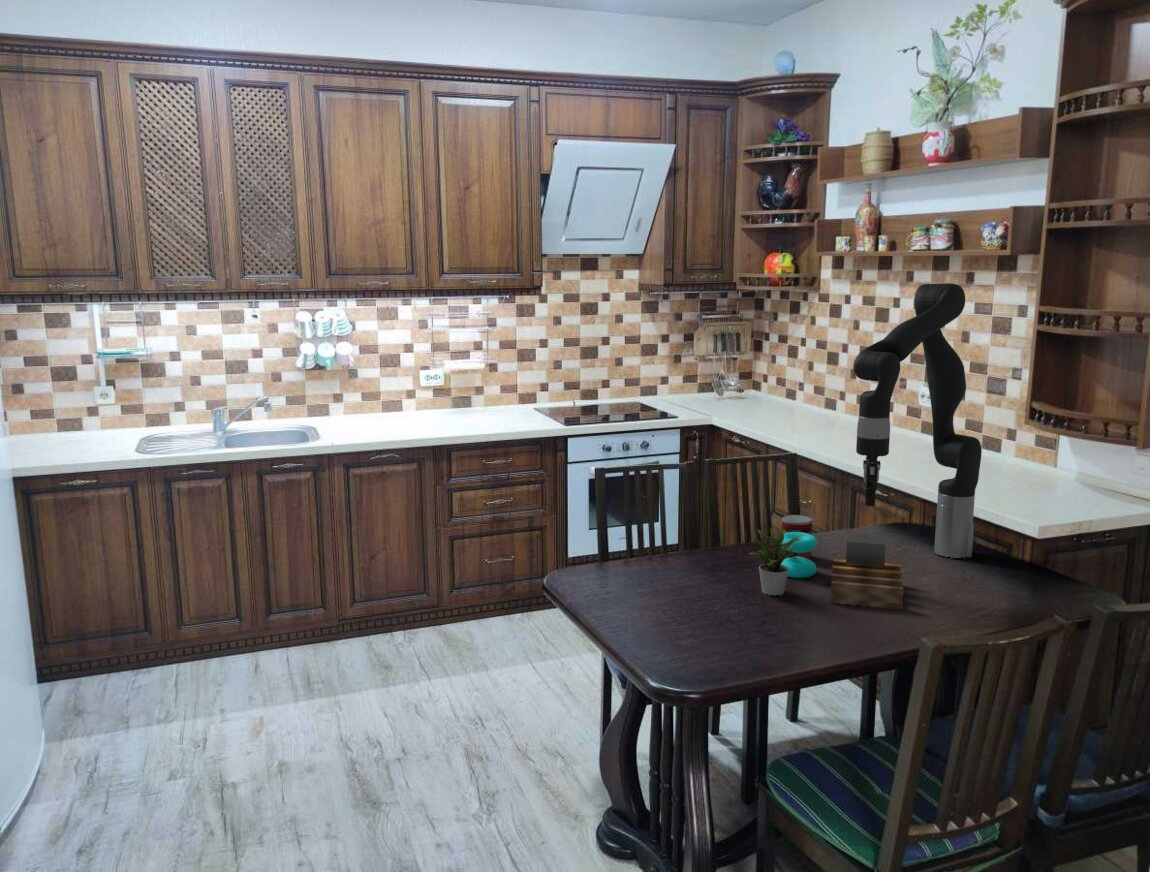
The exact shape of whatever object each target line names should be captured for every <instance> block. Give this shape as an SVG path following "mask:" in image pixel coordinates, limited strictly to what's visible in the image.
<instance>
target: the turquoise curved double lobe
mask: <svg viewBox="0 0 1150 872" xmlns="http://www.w3.org/2000/svg"><path fill="white" fill-rule="evenodd" d="M801 535H804V536H801ZM797 536H801V537H798V538H797V539H800V541H797V542H793V543H792V544H791V545H790V546H792V547H788V549H787V550H788V551H791V550H793V549H796V550H794V551H792V552H795V553H805V552H810V551H811V552H812V551H813V550H815V549H816V548H817V547H818V543H819V542H818V538H817V537H816V536H814V535H813V534H812V535H811V534H808V533H803V532H788V533H785V534H784V540H783V542H782V544H785V543H788V542H789V541H790V540H791V539H793V538H795V537H797ZM795 540H796V539H795ZM784 546H785V545H784ZM784 546H782V547H781V548H783V547H784ZM781 548H780V549H781ZM785 549H786V548H785ZM797 559H798V560H796V559H793V558H786V559H784V561H783V562H782V563H781V564H782V565H783V564H784V563H785V564H784V565H785V566H787V567H788V574H787V578H794V579H806V578H810V577H813V576H814V575H815V574H816V573H817V571H818V570H817V569H818V567H817V565H816V564H815V562H814V561H812V560H811V559H807V558H803V557H797ZM788 560H789V561H788ZM787 561H788V562H787Z"/></svg>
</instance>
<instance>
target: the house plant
mask: <svg viewBox="0 0 1150 872" xmlns="http://www.w3.org/2000/svg"><path fill="white" fill-rule="evenodd" d="M756 530H757V531H758V534H759V537H760V539H761V542H760V541H759V540H758V539H757V538H755V537H753V536H752V535H751V538H752V539H753V540H754V541H755V542H756V543H757V544H758V546H759V547H760V548H761V550H757V552H755V551H751V552H748V555H753V556H757V557H760V558H761V559H762V560H763V561H764V562H765V563H763V564H760V565H759V566H758V571H759V578H760V584H761V592H762V593H763V594H764V593H765V594H764V595H766V594H768V595H767V596H770V595H773V596H772V597H777V596H776V595H779V596H782V595H784V593H785V588H786V583H787V578H788V576H787V574H788V567H787V566H785V565H784V564H785V563H784V564H783V565H782V564H781V563H782V562H783V561H784V559H786V558H793V559H796V560H798V559H797V557H792V556H790V555H793V554H794V553H792V551H794V550H796V549H793V550H791V551H789V552H787V553H786V554H784V553H785V552H786V551H788V550H787V549H788V547H792V546H790V545H791V544H792V543H793V542H797V541H800V539H797V538H798V537H801V536H804V535H801V536H797V537H795V538H793V539H791V540H790V541H789V542H788V543H785V544H782V542H783V540H784V534H785V530H784V531H783V528H782V527H781V530H780V532H779V534H778V537H777V539H776V538H775V535H774V532H773V529H772V528H771V527H769V530H770V536H768V538H769V539H770V541H771V542H770V545H769V543H768V539H767V537H766V535H765V534H764V533H763V532H762V530H760V529H758V528H756ZM795 539H796V540H795ZM784 545H785V546H784ZM782 546H784V547H783V548H782V550H781V547H782ZM785 548H786V549H785ZM781 554H782V555H781ZM788 561H789V560H788ZM788 561H787V562H788ZM774 595H775V596H774Z"/></svg>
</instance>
